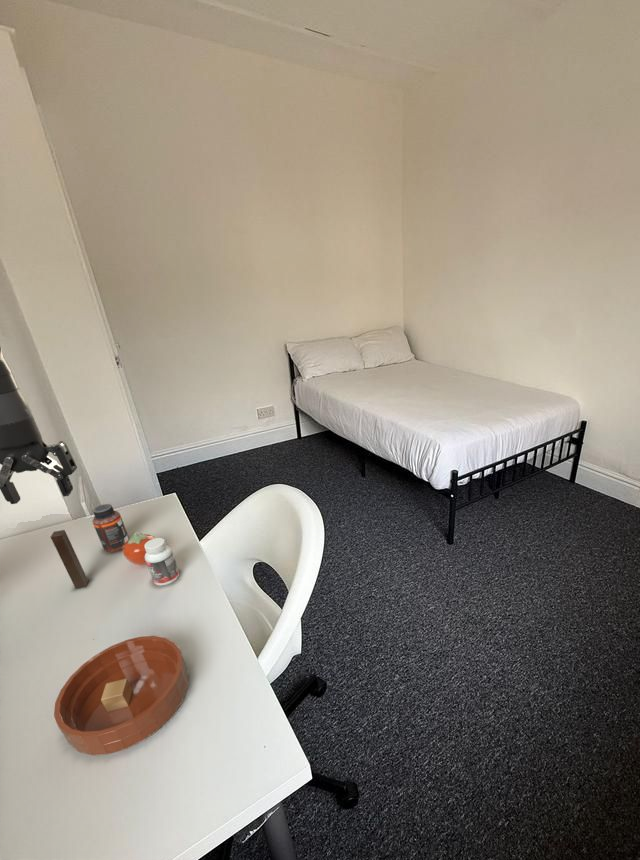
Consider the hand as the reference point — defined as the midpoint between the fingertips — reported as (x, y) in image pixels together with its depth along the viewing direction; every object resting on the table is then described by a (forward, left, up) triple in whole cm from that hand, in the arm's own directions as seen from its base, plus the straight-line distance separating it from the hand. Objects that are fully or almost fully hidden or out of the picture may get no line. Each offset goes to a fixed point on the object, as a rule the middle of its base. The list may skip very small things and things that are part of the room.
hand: (42, 498), depth 80 cm
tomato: (+10, +8, -24) cm, 27 cm away
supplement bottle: (+2, +17, -24) cm, 29 cm away
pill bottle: (+16, -1, -24) cm, 29 cm away
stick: (-2, +3, -24) cm, 24 cm away
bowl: (+15, -32, -24) cm, 43 cm away
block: (+14, -32, -23) cm, 42 cm away
